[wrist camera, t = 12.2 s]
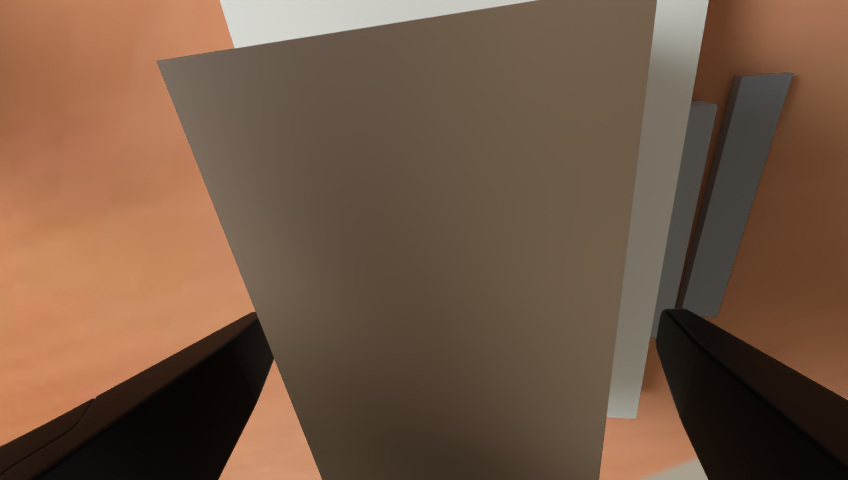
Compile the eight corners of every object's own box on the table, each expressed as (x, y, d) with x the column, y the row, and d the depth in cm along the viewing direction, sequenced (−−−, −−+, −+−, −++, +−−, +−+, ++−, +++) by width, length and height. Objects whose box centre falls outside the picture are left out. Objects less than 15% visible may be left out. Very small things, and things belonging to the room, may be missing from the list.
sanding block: (548, 20, 9) (659, -20, 3) (543, 378, 15) (581, 623, 8) (355, 49, 10) (157, 60, 4) (415, 375, 16) (366, 592, 9)
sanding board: (695, -96, 9) (729, -119, 8) (624, 387, 16) (635, 418, 15) (246, -11, 11) (214, -17, 10) (355, 379, 18) (345, 405, 17)
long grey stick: (666, 101, 11) (697, 98, 11) (633, 316, 15) (655, 317, 15) (684, 107, 10) (717, 104, 10) (643, 337, 14) (668, 338, 14)
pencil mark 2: (742, 76, 10) (725, 74, 11) (680, 316, 14) (670, 303, 14) (793, 73, 10) (773, 71, 11) (716, 317, 14) (705, 303, 14)
